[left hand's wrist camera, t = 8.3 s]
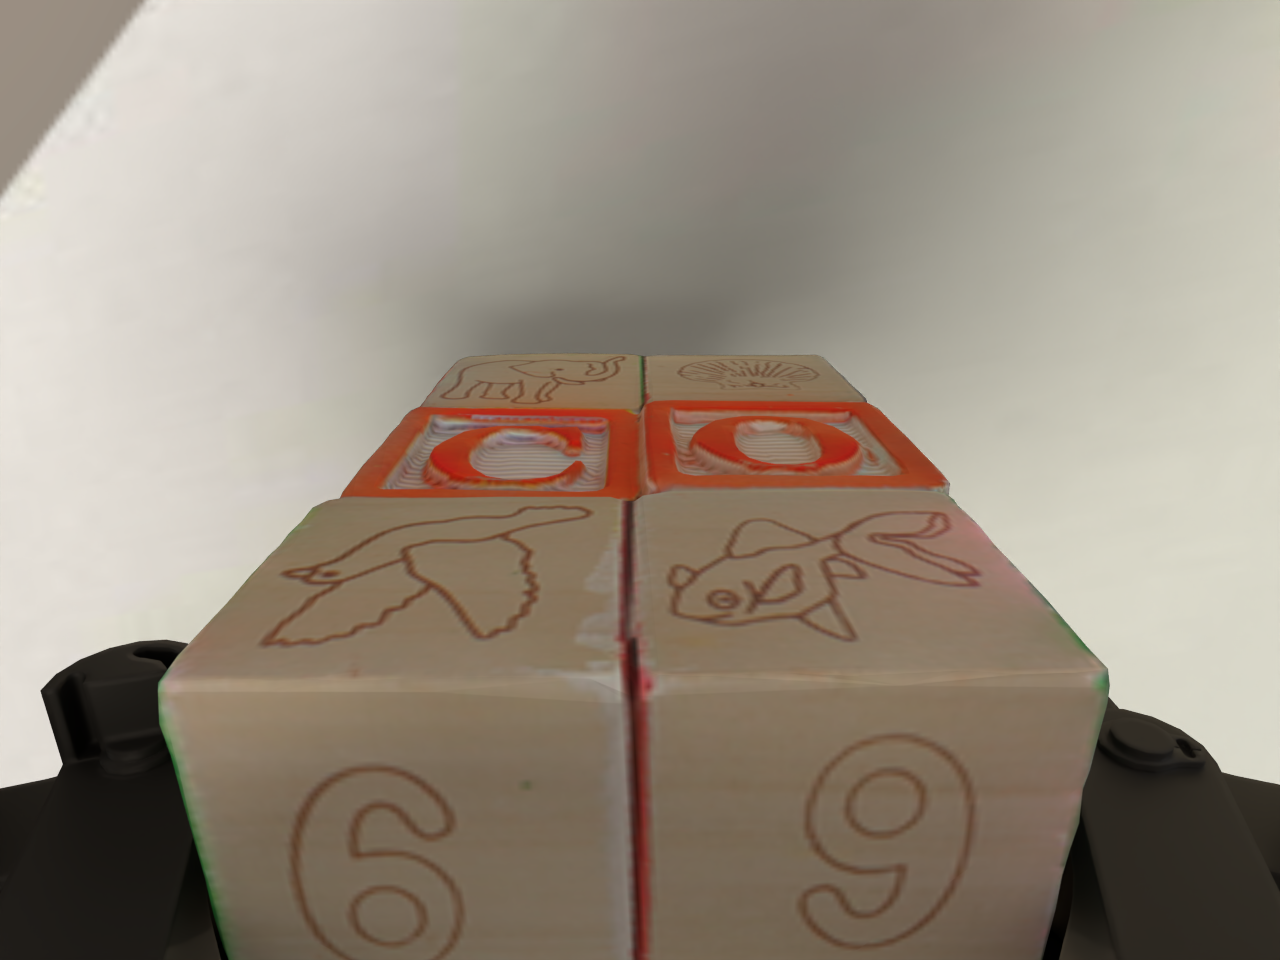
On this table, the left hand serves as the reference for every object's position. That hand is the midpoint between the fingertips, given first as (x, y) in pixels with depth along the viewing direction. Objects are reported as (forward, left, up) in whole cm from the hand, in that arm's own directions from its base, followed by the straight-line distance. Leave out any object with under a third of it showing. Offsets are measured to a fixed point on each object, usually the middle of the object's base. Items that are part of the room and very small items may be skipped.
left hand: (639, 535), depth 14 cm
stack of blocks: (+5, +5, -1) cm, 8 cm away
